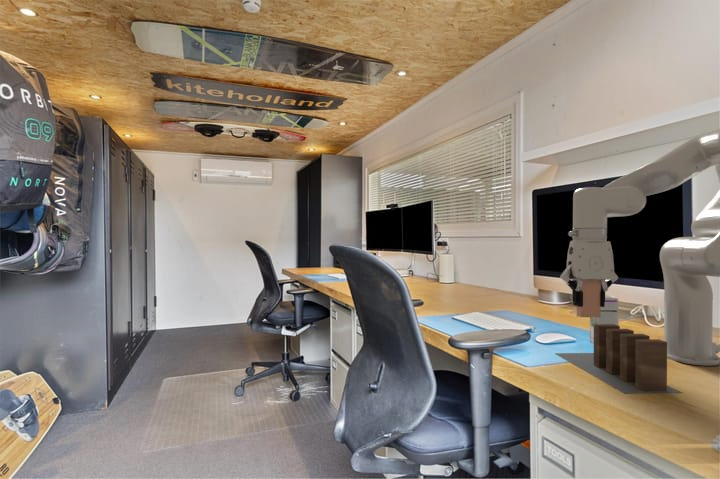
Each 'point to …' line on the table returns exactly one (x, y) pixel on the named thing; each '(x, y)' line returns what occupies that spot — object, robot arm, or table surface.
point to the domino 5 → (651, 365)
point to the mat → (606, 374)
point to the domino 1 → (590, 299)
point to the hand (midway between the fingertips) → (588, 305)
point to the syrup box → (605, 315)
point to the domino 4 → (629, 355)
